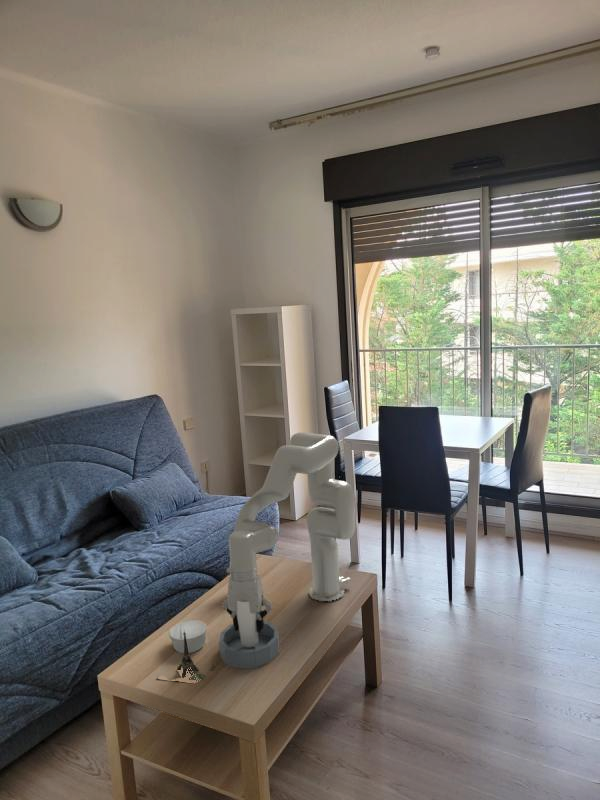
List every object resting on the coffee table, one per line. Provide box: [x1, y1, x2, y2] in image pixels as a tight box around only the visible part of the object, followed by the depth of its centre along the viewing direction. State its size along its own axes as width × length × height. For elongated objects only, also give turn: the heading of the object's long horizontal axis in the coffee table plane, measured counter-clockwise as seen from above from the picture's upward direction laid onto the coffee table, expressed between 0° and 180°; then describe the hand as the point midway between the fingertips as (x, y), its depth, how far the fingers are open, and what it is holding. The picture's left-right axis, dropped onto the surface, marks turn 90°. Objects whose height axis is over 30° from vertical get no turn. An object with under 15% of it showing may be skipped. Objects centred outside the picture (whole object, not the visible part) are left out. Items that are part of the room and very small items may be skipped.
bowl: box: [218, 620, 280, 670], centre depth 173 cm, size 17×17×5 cm
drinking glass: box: [236, 601, 259, 647], centre depth 172 cm, size 7×7×15 cm
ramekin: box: [169, 619, 208, 654], centre depth 178 cm, size 11×11×5 cm
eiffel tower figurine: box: [176, 631, 217, 681], centre depth 164 cm, size 15×10×13 cm
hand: (248, 628), depth 173 cm, fingers closed on drinking glass, 6 cm apart
